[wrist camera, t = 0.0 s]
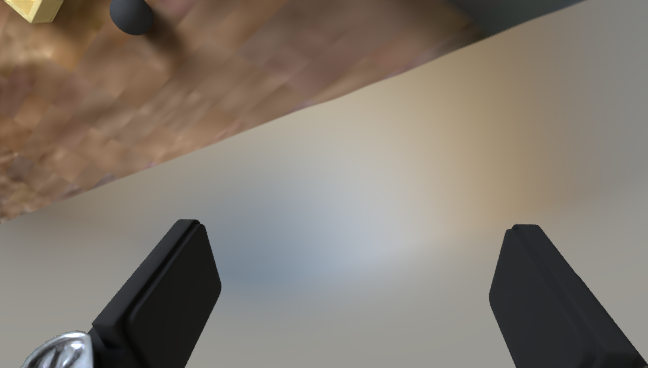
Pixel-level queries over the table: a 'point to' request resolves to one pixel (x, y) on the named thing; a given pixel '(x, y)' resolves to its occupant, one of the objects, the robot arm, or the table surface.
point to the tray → (36, 9)
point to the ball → (131, 16)
